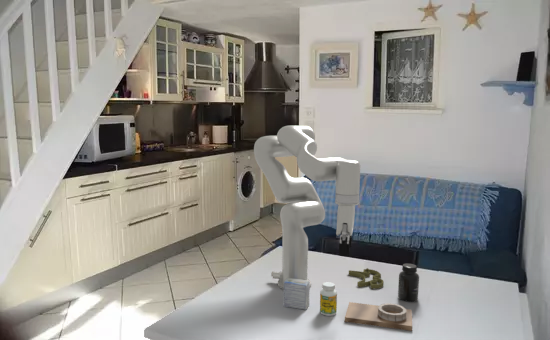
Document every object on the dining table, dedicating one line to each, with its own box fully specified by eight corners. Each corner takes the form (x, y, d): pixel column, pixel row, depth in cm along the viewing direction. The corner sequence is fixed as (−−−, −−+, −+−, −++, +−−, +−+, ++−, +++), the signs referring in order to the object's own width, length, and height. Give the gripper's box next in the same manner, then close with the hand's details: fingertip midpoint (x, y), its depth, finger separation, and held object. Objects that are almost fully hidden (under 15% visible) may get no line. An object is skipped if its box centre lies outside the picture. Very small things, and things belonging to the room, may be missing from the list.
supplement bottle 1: (336, 309, 148) (337, 281, 147) (336, 316, 143) (337, 287, 142) (320, 308, 149) (320, 280, 148) (319, 315, 144) (320, 286, 143)
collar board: (344, 321, 140) (345, 311, 139) (349, 306, 151) (349, 296, 151) (412, 330, 134) (412, 319, 134) (411, 314, 146) (411, 303, 145)
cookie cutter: (346, 273, 184) (346, 268, 184) (374, 272, 185) (374, 268, 185) (359, 290, 166) (359, 285, 166) (390, 289, 168) (391, 284, 167)
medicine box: (309, 305, 152) (310, 280, 151) (306, 310, 147) (306, 285, 146) (287, 301, 154) (287, 277, 153) (283, 306, 150) (283, 281, 149)
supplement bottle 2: (419, 303, 154) (420, 269, 153) (398, 301, 156) (400, 267, 154) (416, 295, 161) (418, 263, 160) (397, 293, 162) (398, 261, 161)
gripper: (337, 193, 152) (336, 243, 154) (332, 203, 136) (330, 258, 138) (360, 195, 151) (358, 244, 153) (357, 204, 134) (355, 260, 136)
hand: (345, 251), depth 145 cm, fingers open, 9 cm apart
